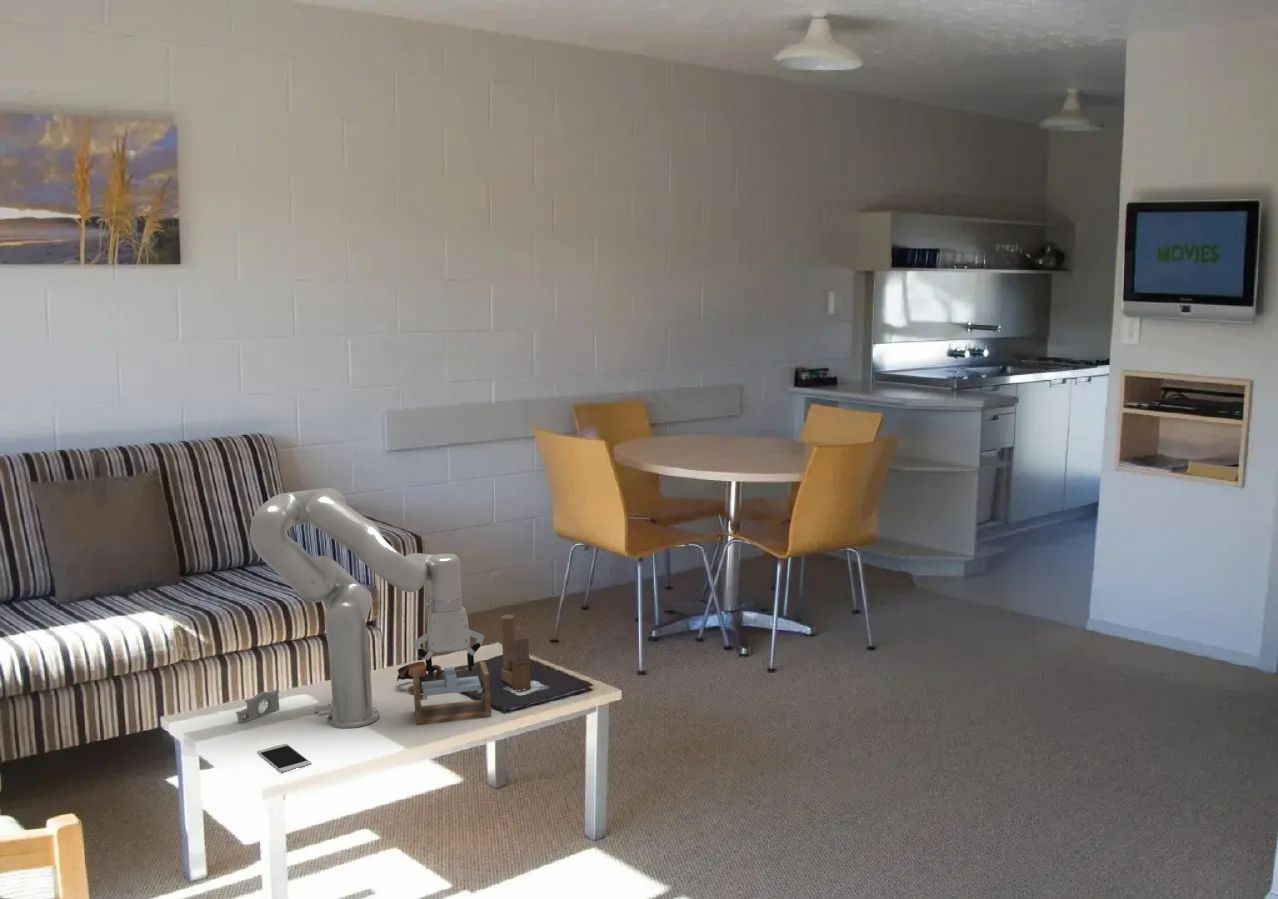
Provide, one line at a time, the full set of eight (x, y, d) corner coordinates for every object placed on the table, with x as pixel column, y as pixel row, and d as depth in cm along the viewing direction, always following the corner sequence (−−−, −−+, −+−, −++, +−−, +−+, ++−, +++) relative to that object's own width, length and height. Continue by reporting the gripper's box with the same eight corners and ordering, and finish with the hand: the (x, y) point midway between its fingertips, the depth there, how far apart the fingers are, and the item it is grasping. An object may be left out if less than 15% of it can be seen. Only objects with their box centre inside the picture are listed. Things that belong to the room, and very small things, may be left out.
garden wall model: (240, 724, 300) (238, 701, 299) (236, 723, 301) (234, 700, 300) (281, 709, 309) (279, 687, 309) (276, 708, 311) (275, 686, 310)
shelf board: (423, 696, 297) (422, 679, 296) (421, 686, 303) (420, 670, 303) (481, 689, 300) (480, 673, 299) (477, 680, 307) (477, 664, 306)
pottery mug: (400, 699, 316) (391, 668, 318) (406, 703, 325) (397, 673, 327) (445, 683, 317) (436, 653, 320) (449, 688, 326) (440, 658, 329)
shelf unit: (417, 725, 296) (414, 681, 294) (414, 710, 305) (412, 668, 304) (491, 716, 300) (489, 673, 298) (486, 702, 310) (484, 661, 308)
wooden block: (518, 692, 317) (515, 625, 314) (501, 680, 326) (498, 615, 323) (531, 689, 319) (528, 622, 316) (513, 678, 328) (510, 613, 325)
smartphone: (281, 775, 270) (281, 771, 270) (256, 754, 282) (256, 750, 282) (312, 766, 274) (312, 762, 274) (286, 746, 286) (286, 742, 286)
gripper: (411, 611, 293) (415, 680, 296) (483, 605, 297) (487, 672, 299) (410, 603, 300) (414, 670, 303) (480, 597, 304) (483, 663, 307)
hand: (450, 671), depth 301 cm, fingers open, 9 cm apart
